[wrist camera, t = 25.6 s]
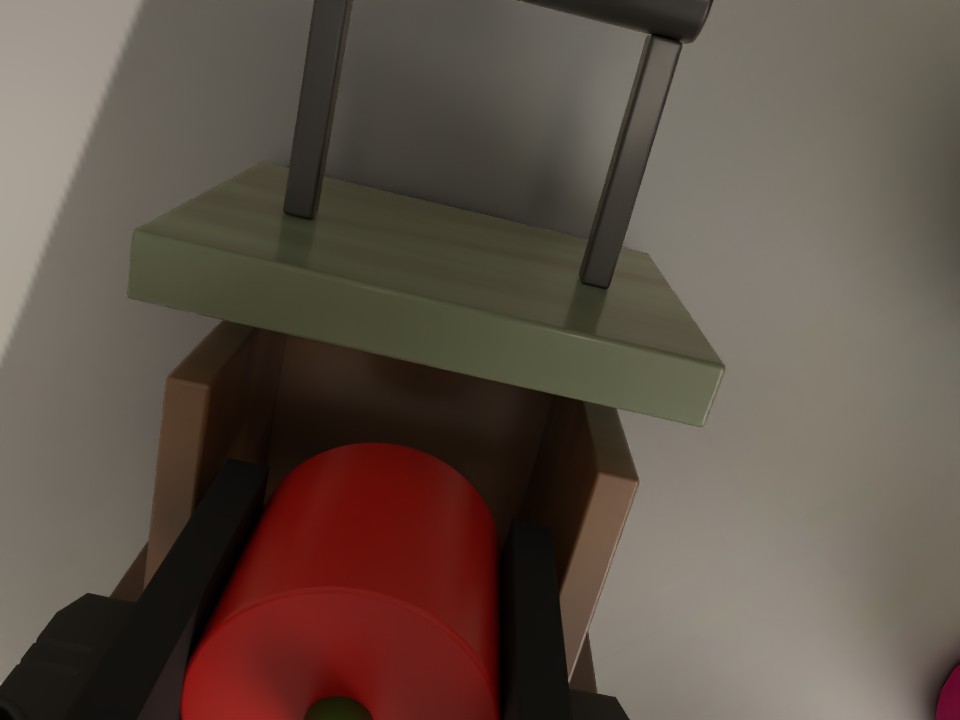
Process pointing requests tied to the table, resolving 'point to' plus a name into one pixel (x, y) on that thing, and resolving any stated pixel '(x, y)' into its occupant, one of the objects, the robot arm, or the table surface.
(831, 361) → the table surface
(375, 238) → the drawer
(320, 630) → the pepper
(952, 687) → the pepper mill
